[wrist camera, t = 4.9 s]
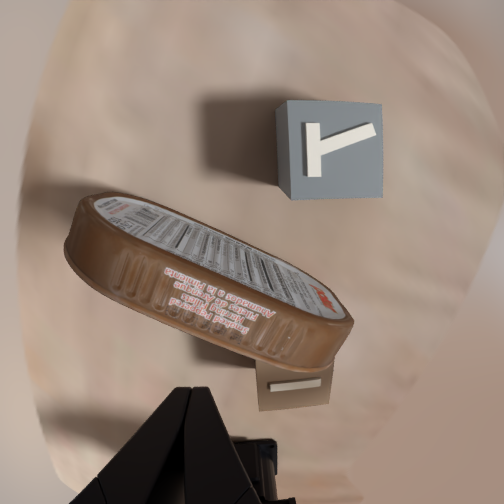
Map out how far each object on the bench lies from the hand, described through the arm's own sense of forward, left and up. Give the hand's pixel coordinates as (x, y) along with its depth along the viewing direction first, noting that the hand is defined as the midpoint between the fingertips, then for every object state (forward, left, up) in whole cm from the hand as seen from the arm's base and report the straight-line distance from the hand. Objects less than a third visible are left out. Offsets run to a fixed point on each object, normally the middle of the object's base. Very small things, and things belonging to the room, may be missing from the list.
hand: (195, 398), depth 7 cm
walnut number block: (-8, -4, -13) cm, 15 cm away
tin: (0, 0, -13) cm, 13 cm away
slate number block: (+5, -6, -13) cm, 15 cm away
